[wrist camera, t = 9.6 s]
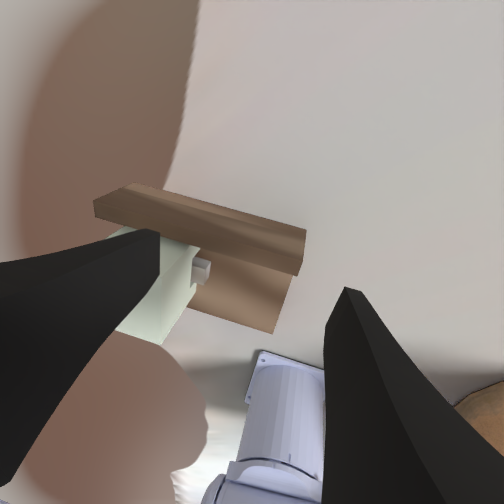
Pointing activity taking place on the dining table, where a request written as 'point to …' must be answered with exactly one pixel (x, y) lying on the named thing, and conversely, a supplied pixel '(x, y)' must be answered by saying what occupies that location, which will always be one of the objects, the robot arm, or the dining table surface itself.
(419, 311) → the dining table surface
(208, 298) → the cleat board
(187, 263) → the sage block
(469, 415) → the pottery
